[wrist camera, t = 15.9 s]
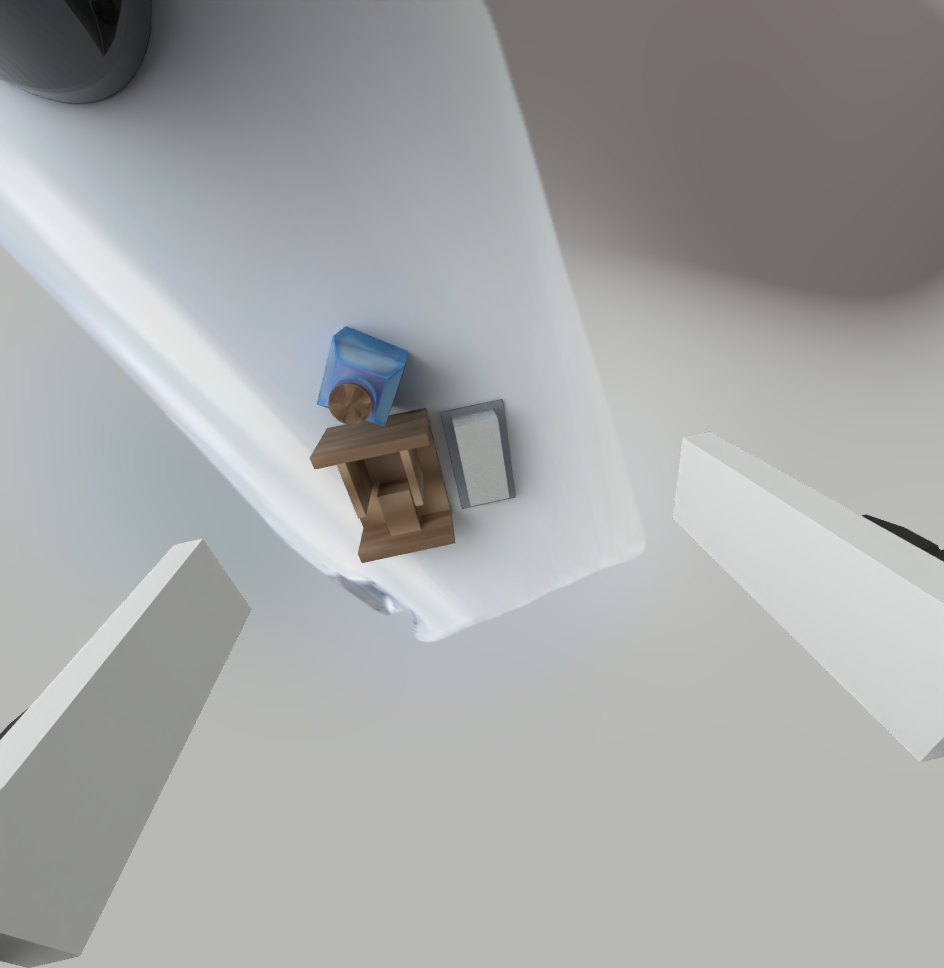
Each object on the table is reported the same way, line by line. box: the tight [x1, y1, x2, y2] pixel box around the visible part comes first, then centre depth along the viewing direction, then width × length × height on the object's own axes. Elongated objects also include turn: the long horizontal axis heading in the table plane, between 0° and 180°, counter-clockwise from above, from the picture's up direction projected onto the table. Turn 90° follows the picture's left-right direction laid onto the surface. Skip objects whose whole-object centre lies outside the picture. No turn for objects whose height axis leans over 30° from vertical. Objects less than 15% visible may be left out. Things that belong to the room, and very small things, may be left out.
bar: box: [452, 407, 509, 506], centre depth 43 cm, size 10×5×4 cm, turn 10°
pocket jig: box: [310, 408, 455, 563], centre depth 42 cm, size 14×11×8 cm
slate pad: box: [440, 399, 516, 509], centre depth 45 cm, size 13×7×1 cm, turn 10°
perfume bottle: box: [317, 326, 407, 427], centre depth 33 cm, size 6×6×12 cm
